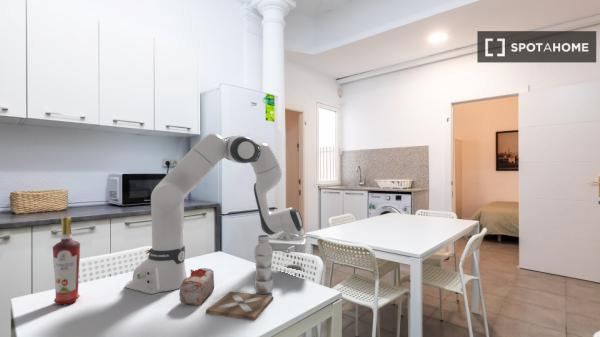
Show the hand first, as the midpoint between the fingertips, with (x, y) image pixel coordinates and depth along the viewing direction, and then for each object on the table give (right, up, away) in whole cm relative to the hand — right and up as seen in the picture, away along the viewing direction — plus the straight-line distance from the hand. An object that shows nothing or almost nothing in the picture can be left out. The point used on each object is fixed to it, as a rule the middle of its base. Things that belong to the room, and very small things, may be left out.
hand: (276, 250), depth 123 cm
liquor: (-68, -13, -18) cm, 71 cm away
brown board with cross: (-9, -12, -22) cm, 27 cm away
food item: (-25, -12, -16) cm, 32 cm away
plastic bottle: (-3, -12, -12) cm, 17 cm away
